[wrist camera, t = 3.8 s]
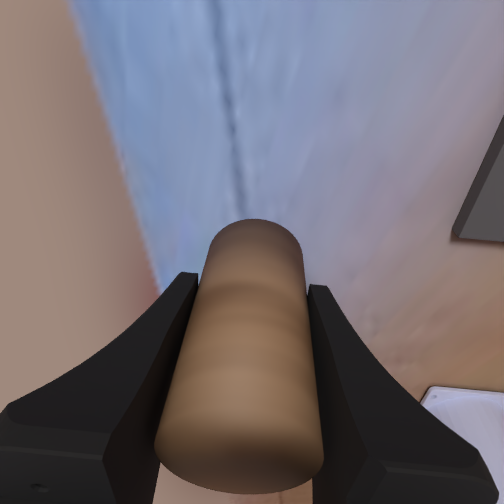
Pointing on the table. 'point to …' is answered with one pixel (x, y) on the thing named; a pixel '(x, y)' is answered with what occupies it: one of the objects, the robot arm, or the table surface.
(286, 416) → the peg
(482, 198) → the mat
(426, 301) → the table surface
